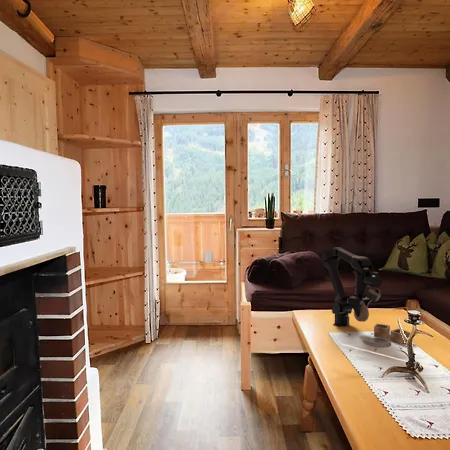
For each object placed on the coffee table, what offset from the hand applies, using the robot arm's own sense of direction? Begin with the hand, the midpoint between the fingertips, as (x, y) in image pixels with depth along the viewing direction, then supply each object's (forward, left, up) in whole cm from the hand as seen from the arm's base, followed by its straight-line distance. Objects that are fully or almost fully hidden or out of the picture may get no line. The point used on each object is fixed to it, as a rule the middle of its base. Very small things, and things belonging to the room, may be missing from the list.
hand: (361, 315), depth 185 cm
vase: (0, 0, -3) cm, 3 cm away
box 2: (+18, +1, -9) cm, 20 cm away
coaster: (+11, -8, -9) cm, 16 cm away
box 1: (+9, +3, -9) cm, 13 cm away
